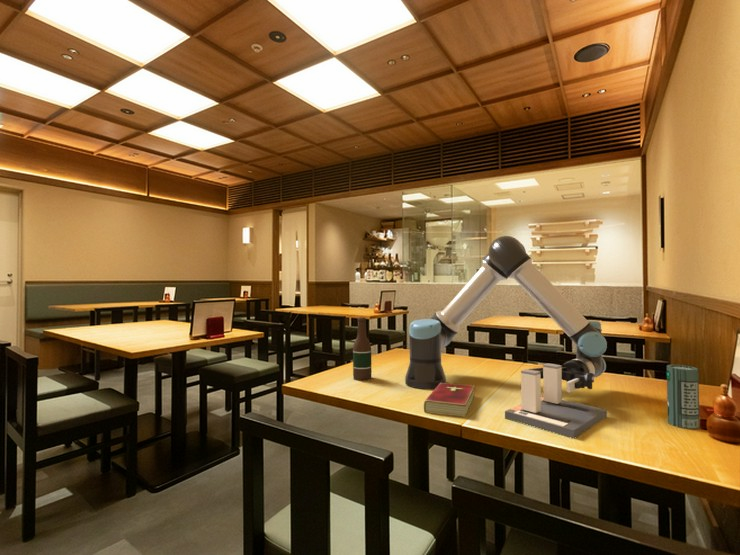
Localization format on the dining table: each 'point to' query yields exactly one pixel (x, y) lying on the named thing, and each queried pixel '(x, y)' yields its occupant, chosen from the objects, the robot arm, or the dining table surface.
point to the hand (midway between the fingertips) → (546, 383)
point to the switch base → (552, 410)
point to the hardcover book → (450, 399)
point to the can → (683, 396)
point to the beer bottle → (362, 353)
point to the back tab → (552, 383)
